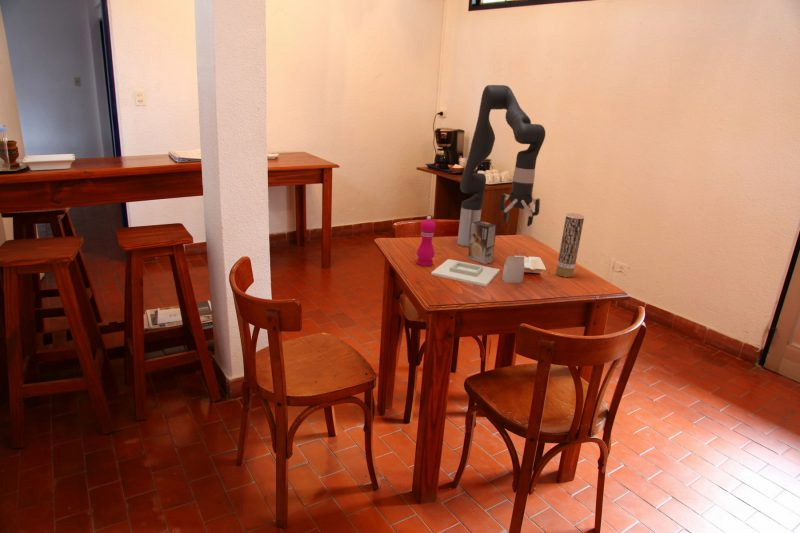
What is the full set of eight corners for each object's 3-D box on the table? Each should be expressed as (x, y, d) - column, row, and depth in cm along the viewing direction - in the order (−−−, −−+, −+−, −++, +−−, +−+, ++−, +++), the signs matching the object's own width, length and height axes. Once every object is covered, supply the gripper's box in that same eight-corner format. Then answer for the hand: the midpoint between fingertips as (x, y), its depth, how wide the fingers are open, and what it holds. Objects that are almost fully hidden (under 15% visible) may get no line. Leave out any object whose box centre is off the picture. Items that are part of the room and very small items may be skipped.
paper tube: (561, 271, 223) (571, 212, 215) (576, 276, 219) (587, 216, 210) (552, 274, 218) (563, 214, 210) (567, 279, 214) (579, 218, 206)
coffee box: (493, 261, 229) (498, 225, 224) (484, 264, 224) (489, 227, 219) (475, 256, 235) (480, 220, 230) (466, 258, 230) (471, 222, 225)
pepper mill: (432, 267, 216) (436, 219, 209) (414, 265, 217) (418, 217, 210) (434, 262, 222) (439, 215, 216) (417, 260, 224) (421, 213, 217)
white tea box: (522, 282, 206) (526, 258, 203) (505, 283, 205) (509, 258, 202) (518, 279, 210) (521, 255, 207) (502, 279, 208) (505, 255, 205)
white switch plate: (448, 261, 225) (448, 255, 224) (499, 271, 217) (500, 265, 216) (431, 274, 207) (431, 268, 207) (486, 286, 199) (487, 280, 199)
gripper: (545, 181, 195) (538, 225, 200) (506, 176, 201) (501, 219, 206) (541, 184, 189) (534, 229, 194) (501, 179, 194) (495, 222, 199)
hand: (517, 223), depth 200 cm, fingers open, 8 cm apart
